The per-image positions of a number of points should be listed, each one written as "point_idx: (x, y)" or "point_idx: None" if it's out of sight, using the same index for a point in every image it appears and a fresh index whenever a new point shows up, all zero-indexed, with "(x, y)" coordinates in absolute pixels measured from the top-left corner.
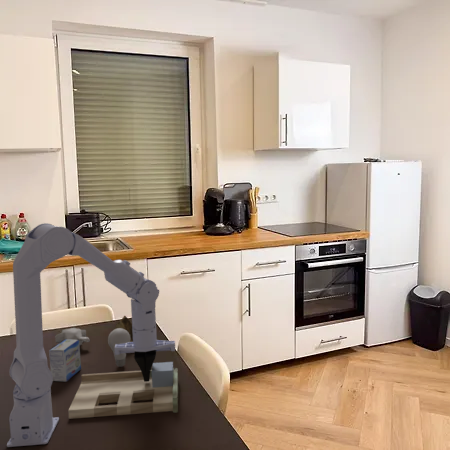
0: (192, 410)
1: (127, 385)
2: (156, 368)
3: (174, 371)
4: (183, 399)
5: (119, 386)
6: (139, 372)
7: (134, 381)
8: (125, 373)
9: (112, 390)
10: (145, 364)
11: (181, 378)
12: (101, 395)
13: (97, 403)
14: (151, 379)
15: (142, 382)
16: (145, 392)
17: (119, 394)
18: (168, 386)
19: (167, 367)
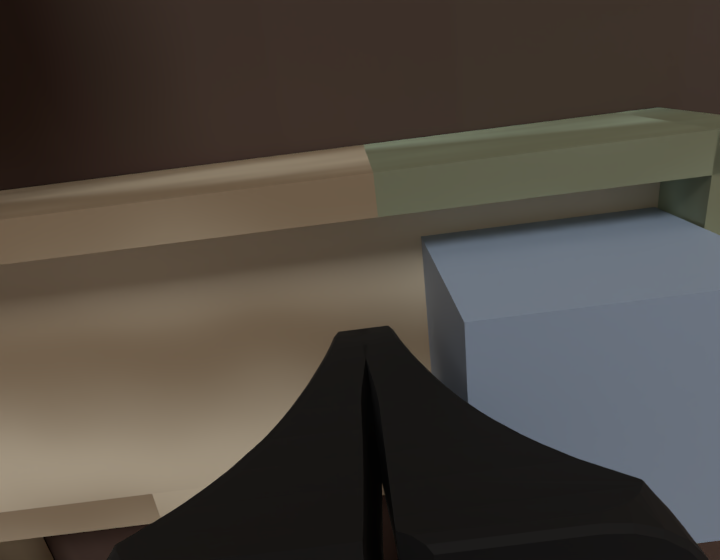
0: (706, 550)
1: (169, 390)
2: None
3: (715, 232)
4: None
5: (93, 408)
6: (234, 233)
7: (215, 311)
8: (44, 256)
9: (61, 477)
10: (378, 540)
11: (702, 39)
12: (3, 540)
13: (24, 557)
14: (400, 265)
15: (312, 331)
16: (382, 489)
17: (158, 518)
18: None
19: (697, 462)
